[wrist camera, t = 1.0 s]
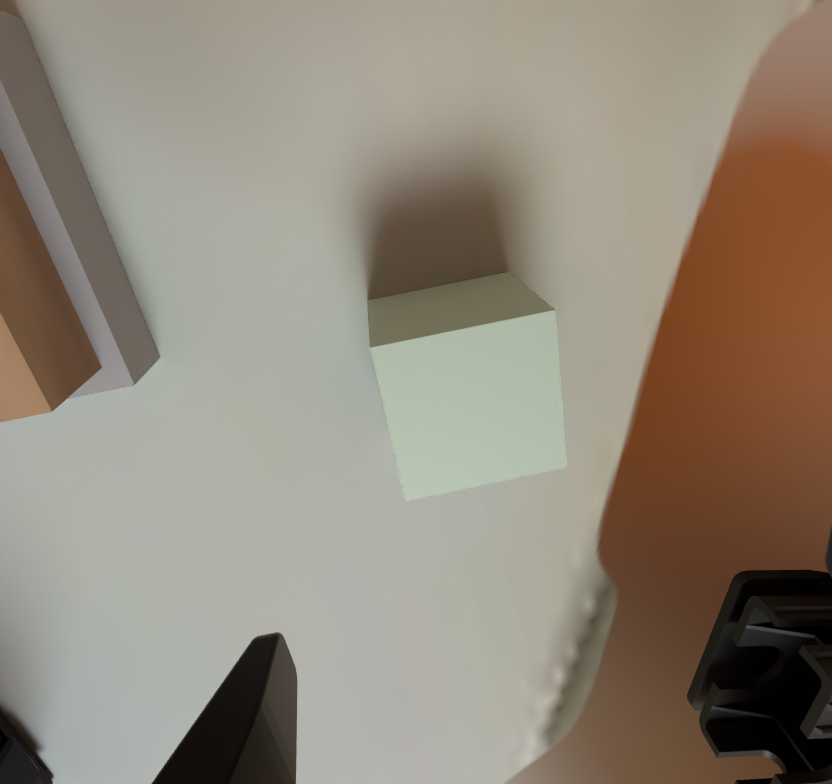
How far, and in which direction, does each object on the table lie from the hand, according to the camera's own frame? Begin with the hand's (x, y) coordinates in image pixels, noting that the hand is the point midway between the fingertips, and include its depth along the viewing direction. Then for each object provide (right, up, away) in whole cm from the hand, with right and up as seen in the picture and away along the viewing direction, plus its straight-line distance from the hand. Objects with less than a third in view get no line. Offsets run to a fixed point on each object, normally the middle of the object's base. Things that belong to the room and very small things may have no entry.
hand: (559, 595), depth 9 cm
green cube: (-1, +5, +11) cm, 12 cm away
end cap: (+16, -9, +19) cm, 27 cm away
